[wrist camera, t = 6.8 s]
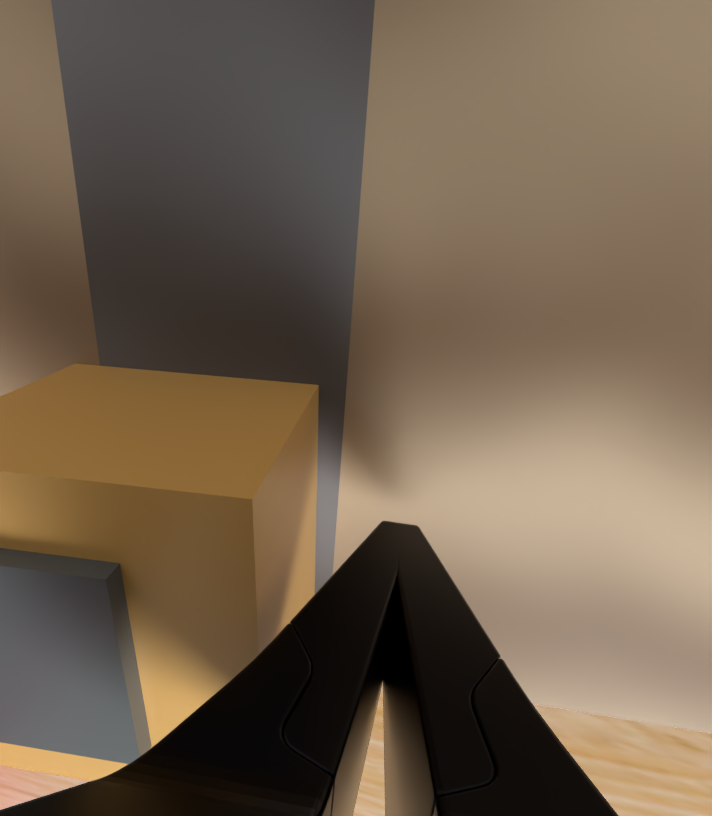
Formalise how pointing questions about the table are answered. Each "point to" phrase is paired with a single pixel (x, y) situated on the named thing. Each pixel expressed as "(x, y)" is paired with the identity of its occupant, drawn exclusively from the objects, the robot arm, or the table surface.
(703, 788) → the table surface
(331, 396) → the beige flat piece
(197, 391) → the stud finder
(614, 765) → the table surface
